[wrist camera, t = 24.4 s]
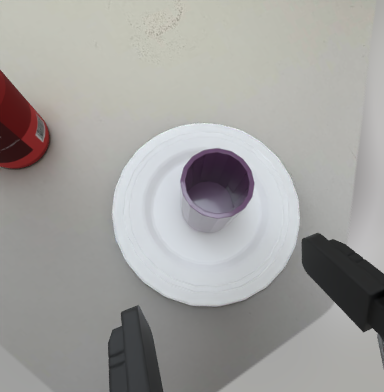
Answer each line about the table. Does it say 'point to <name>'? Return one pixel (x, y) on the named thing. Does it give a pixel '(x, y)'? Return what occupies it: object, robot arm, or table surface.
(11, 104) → the canned food
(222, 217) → the cup
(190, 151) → the plate
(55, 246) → the table surface
